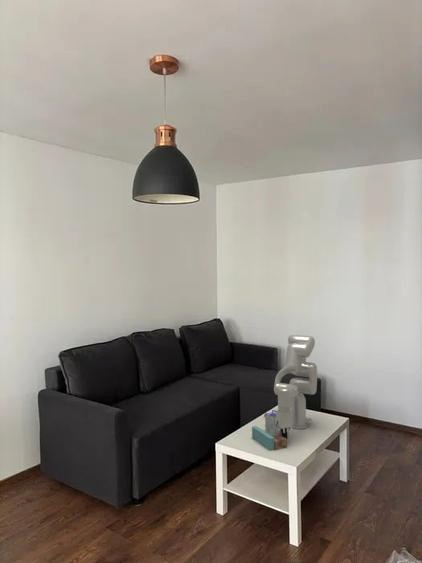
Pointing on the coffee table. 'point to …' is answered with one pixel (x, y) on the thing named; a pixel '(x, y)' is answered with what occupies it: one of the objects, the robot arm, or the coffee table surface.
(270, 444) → the teal plank
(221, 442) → the coffee table surface
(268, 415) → the ink cartridge box
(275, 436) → the walnut block
